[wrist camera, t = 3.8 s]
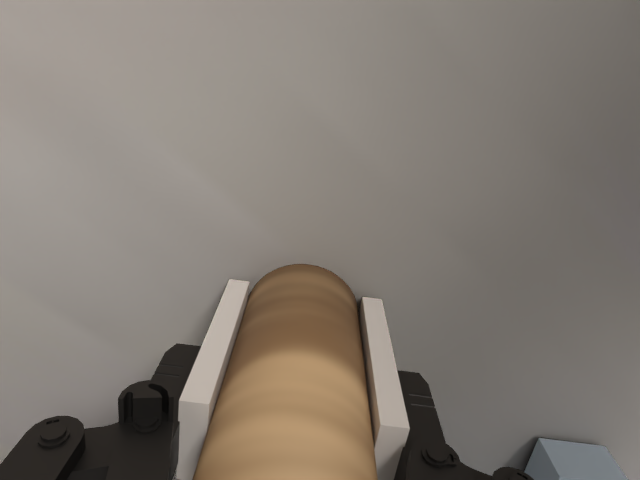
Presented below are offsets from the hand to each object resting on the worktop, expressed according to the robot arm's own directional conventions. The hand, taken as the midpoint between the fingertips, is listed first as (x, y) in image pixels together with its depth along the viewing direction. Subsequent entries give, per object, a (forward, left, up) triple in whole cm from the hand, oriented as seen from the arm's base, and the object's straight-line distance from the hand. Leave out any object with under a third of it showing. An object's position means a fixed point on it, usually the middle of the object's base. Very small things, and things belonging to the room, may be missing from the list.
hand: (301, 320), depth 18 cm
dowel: (0, 0, 0) cm, 0 cm away
